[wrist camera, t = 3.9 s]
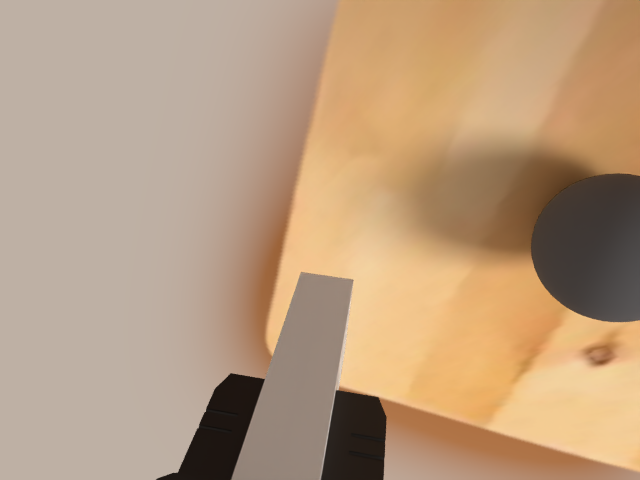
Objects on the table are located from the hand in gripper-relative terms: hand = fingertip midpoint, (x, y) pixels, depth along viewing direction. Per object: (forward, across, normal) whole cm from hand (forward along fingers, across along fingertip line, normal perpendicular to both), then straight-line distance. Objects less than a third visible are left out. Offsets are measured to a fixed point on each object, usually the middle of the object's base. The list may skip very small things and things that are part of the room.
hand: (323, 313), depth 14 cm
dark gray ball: (+6, +10, 0) cm, 12 cm away
